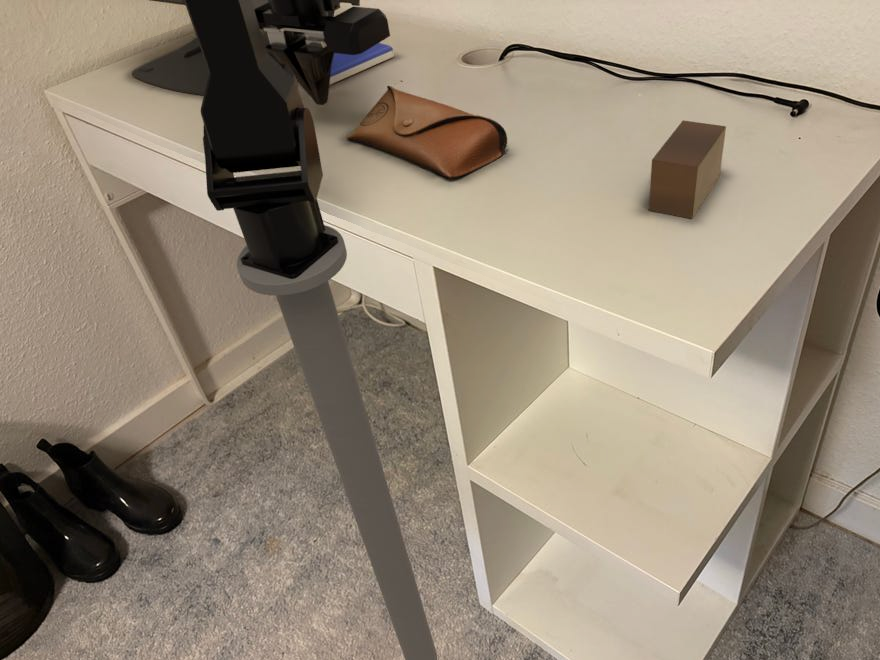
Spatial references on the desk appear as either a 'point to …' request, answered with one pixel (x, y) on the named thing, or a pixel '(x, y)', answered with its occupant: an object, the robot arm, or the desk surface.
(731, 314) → the desk surface
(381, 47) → the hard drive
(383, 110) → the sunglasses case
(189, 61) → the laptop stand
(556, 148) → the desk surface
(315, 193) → the robot arm
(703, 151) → the walnut block
